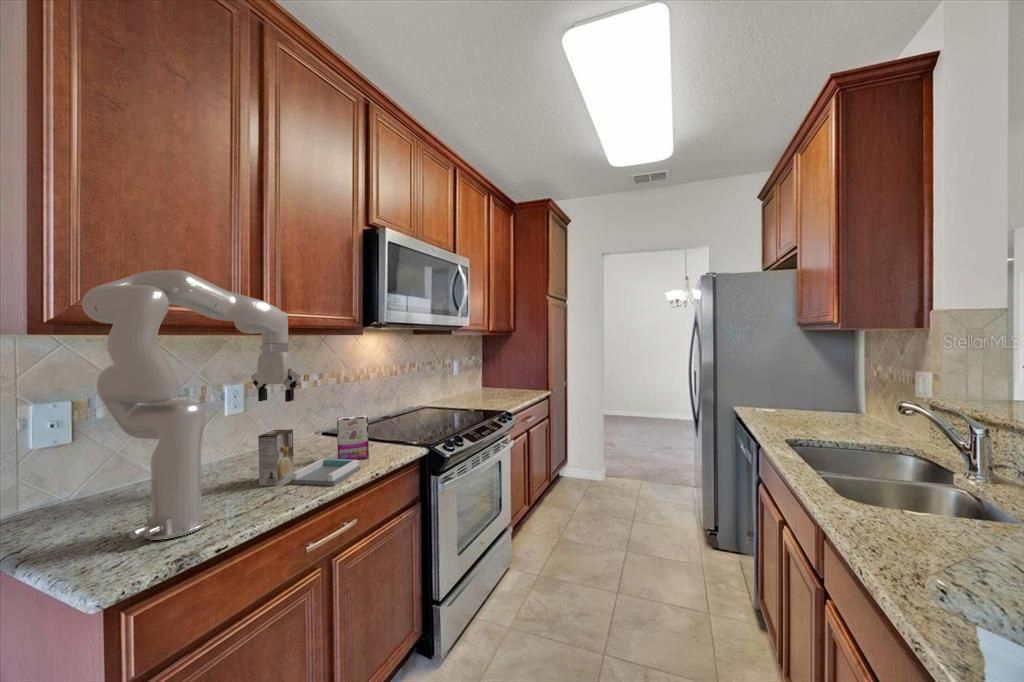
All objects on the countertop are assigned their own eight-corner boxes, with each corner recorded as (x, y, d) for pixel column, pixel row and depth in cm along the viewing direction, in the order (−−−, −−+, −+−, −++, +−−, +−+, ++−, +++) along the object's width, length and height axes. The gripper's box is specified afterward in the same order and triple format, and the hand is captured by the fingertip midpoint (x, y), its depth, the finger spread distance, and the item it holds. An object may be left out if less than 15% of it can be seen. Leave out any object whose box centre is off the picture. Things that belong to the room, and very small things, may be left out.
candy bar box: (367, 455, 162) (367, 414, 162) (369, 458, 158) (368, 416, 158) (337, 459, 157) (336, 416, 157) (337, 462, 153) (337, 419, 153)
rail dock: (334, 486, 128) (333, 475, 128) (290, 483, 131) (290, 473, 131) (360, 469, 144) (360, 459, 144) (321, 468, 146) (321, 458, 146)
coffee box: (275, 476, 138) (275, 429, 138) (294, 476, 138) (293, 429, 138) (258, 486, 129) (257, 435, 129) (278, 486, 129) (277, 435, 129)
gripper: (242, 349, 131) (243, 402, 131) (291, 349, 128) (292, 403, 128) (260, 348, 138) (261, 398, 138) (306, 348, 136) (307, 399, 136)
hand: (276, 401), depth 133 cm, fingers open, 9 cm apart
